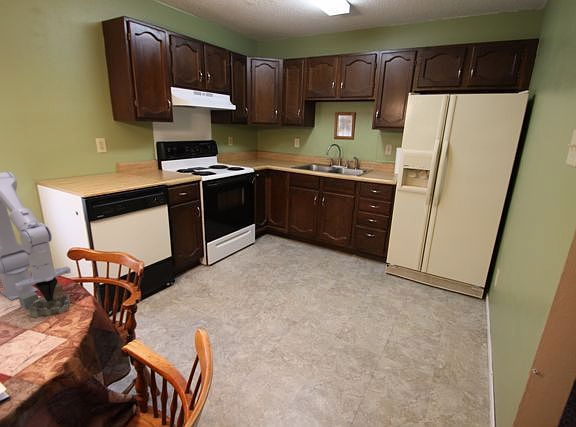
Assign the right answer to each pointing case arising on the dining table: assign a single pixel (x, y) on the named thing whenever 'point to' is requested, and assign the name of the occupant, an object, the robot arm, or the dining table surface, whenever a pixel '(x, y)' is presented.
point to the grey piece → (55, 303)
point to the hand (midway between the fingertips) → (49, 299)
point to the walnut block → (58, 290)
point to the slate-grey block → (28, 299)
